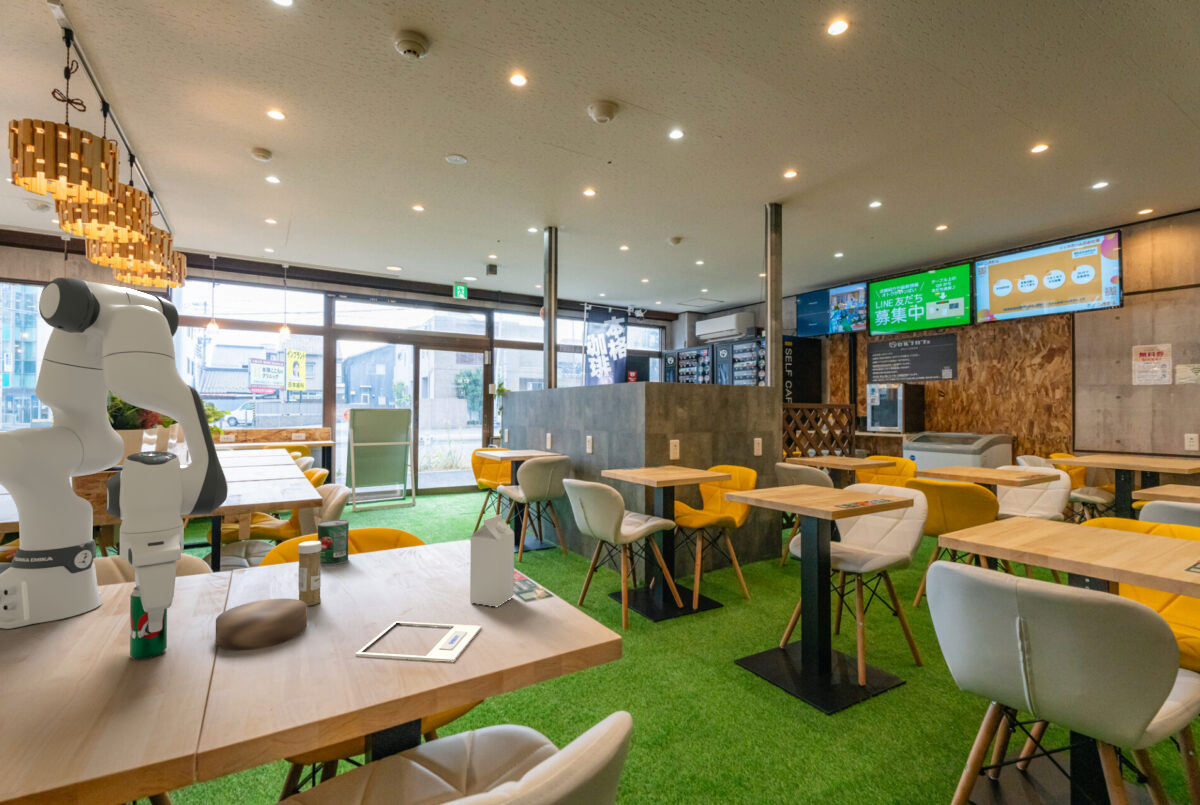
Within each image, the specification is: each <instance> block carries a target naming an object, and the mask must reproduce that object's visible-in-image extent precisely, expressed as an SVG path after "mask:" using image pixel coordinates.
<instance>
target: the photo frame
mask: <svg viewBox="0 0 1200 805" xmlns="http://www.w3.org/2000/svg"><path fill="white" fill-rule="evenodd" d="M396 623H401V624H400V625H401V626H402V625H413V626H412V627H420V626H437V627H453V628H450V630H449V631H448V632H447V633H446V634H445V635H444V636H443V637H442V638H441V639H440V641H438V642H437V643H436V644H435V645H434V647H433V648H432V649H431V650H430V651H429V652H428V653H427V654H426V655H415V654H414V655H413V654H412V655H411V654H399V653H398V654H396V653H382V652H379V653H378V652H366V651H365V652H364V650H365V649H367V648H368V647H370V646H371V645H372V644H373V643H375V642H376V640H378V639H379V638H380V637H382V636H383V635H384V634H386V633H387V632H388V630H390V629H391V628H393V627H394V626H395V625H397V624H396ZM416 625H418V626H416ZM437 627H436V628H437ZM481 627H482V625H475V624H474V625H473V624H456V623H455V624H454V623H453V624H452V623H451V624H450V623H433V622H417V621H415V622H413V621H394V622H393V623H391V624H390V625H389V626H388V627H387V628H385V629H384V630H382V632H380V633H379V634H377V636H375V637H374V638H372V639H371V641H370V640H369V642H368V643H367V644H366V645H364V646H363V647H361V649H359V650H358V651H356V652H355V654H354V655H355V657H360V658H361V657H362V658H363V657H364V658H375V659H390V658H391V659H394V660H406V659H408V660H409V661H410V659H411V661H421V660H447V661H448V660H450V661H451V660H452V661H454V660H455V659H456V658H457V656H458V655H459V654H460V653H461V652H462V650H463V649H464V648H465V647H466V646H467V645H468V643H469V642H470V641H471V640H472V639H473V638H475V637H476V636H477V635H478V634H477V632H478V631H479V630H480V629H481ZM482 628H483V627H482ZM481 630H482V629H481ZM481 630H480V631H481ZM480 631H479V632H480ZM479 632H478V633H479ZM476 634H477V635H476ZM475 635H476V636H475ZM474 636H475V637H474ZM473 640H474V639H473ZM473 640H472V641H473ZM472 641H471V642H472ZM471 642H470V643H471ZM470 643H469V644H470ZM468 646H469V645H468ZM468 646H467V647H468ZM467 647H466V648H467ZM466 648H465V649H466ZM462 653H463V652H462ZM462 653H461V654H462ZM461 654H460V655H461ZM457 659H458V658H457ZM457 659H456V660H457ZM456 660H455V661H456Z"/></svg>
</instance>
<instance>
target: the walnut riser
mask: <svg viewBox="0 0 1200 805" xmlns="http://www.w3.org/2000/svg"><path fill="white" fill-rule="evenodd" d="M307 613H308V606H307V604H306V603H305V602H303V601H301V600H299V599H298V598H297V599H296V598H272V599H271V598H270V599H263V600H258V601H257V600H256V601H253V602H252V601H251V602H248V603H244V604H240V605H236V606H233V607H231V608H229V609H227V610H225V611H223V612H221V613H220V614H218V615H217V616H216V618H215V645H216V646H217V647H219V648H221V649H225V650H230V651H245V650H255V649H262V648H266V647H271V646H274V645H280V644H282V643H285V642H287V641H290V640H292V639H295V638H296V637H298V636H300V635H301V634H302V633H304V631H306V629H307V627H308V626H307V624H308V623H307V622H308V615H307Z"/></svg>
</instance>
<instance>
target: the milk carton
mask: <svg viewBox="0 0 1200 805" xmlns="http://www.w3.org/2000/svg"><path fill="white" fill-rule="evenodd" d="M502 514H503V513H502ZM502 514H501V513H499V514H497V515H494V516H491V517H489V518H486V519H483V525H482V526H481V527H479V528H478V529H477V530H476V531H474V533H473V534H471V535H470V570H469V571H470V573H469V574H470V576H469V577H470V578H469V580H470V581H469V583H470V584H469V588H470V589H469V590H470V591H469V592H470V594H469V602H470V604H473V603H476V604H475V605H479V604H483V605H482V606H485V605H491V606H499V605H500V604H502V603H503V602H505V601H506V600H508V599H509V598H511V597H512V596H513V595H514V596H515V532H514V530H513V529H512V528H511V527H510V526H509V525H508V524H507V523H506V522H505V521H504V519H503V518H502V516H503V515H502ZM502 605H503V604H502ZM491 606H490V607H491ZM499 607H500V606H499Z"/></svg>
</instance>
